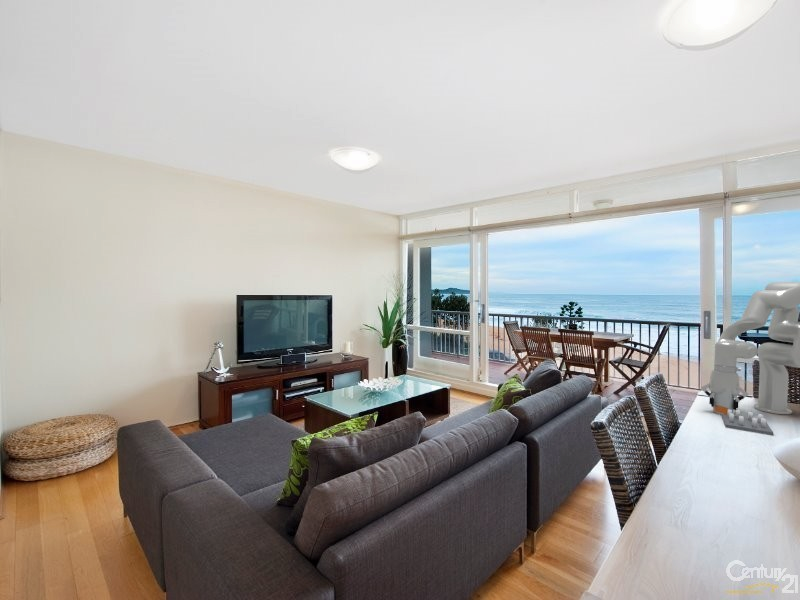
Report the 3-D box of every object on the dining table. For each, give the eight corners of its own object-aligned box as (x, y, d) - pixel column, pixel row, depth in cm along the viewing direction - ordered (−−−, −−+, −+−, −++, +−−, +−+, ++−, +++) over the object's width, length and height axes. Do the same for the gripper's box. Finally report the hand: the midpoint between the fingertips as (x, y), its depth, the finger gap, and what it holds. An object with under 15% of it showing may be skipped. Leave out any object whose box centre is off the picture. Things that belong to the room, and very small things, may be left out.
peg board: (721, 416, 166) (721, 405, 166) (765, 423, 158) (765, 412, 158) (725, 427, 153) (726, 415, 153) (773, 435, 145) (773, 423, 145)
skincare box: (712, 412, 171) (713, 386, 171) (717, 411, 173) (718, 385, 173) (728, 416, 166) (729, 389, 165) (734, 415, 168) (734, 388, 167)
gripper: (749, 370, 167) (748, 409, 167) (699, 365, 177) (698, 402, 178) (752, 373, 161) (750, 414, 161) (700, 367, 171) (699, 406, 171)
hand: (723, 407), depth 169 cm, fingers closed on skincare box, 7 cm apart
